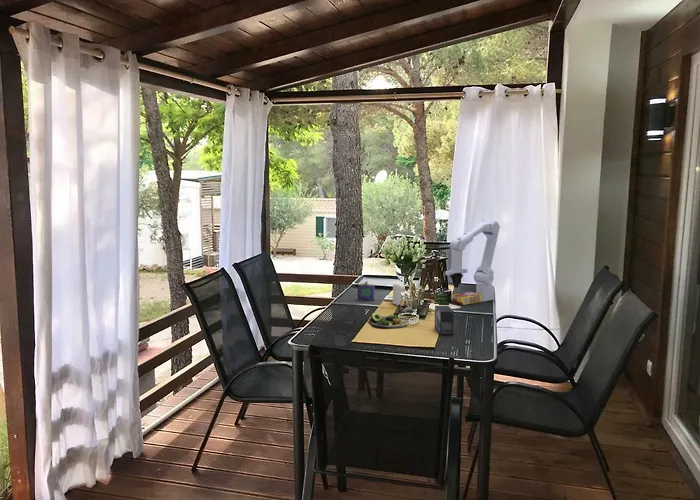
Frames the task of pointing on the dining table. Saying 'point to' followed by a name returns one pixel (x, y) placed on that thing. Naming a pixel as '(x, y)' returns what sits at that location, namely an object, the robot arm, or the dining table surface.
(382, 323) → the salad plate
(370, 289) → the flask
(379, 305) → the dining table surface
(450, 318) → the small box
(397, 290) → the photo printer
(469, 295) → the candy box
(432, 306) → the mat
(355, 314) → the dining table surface
